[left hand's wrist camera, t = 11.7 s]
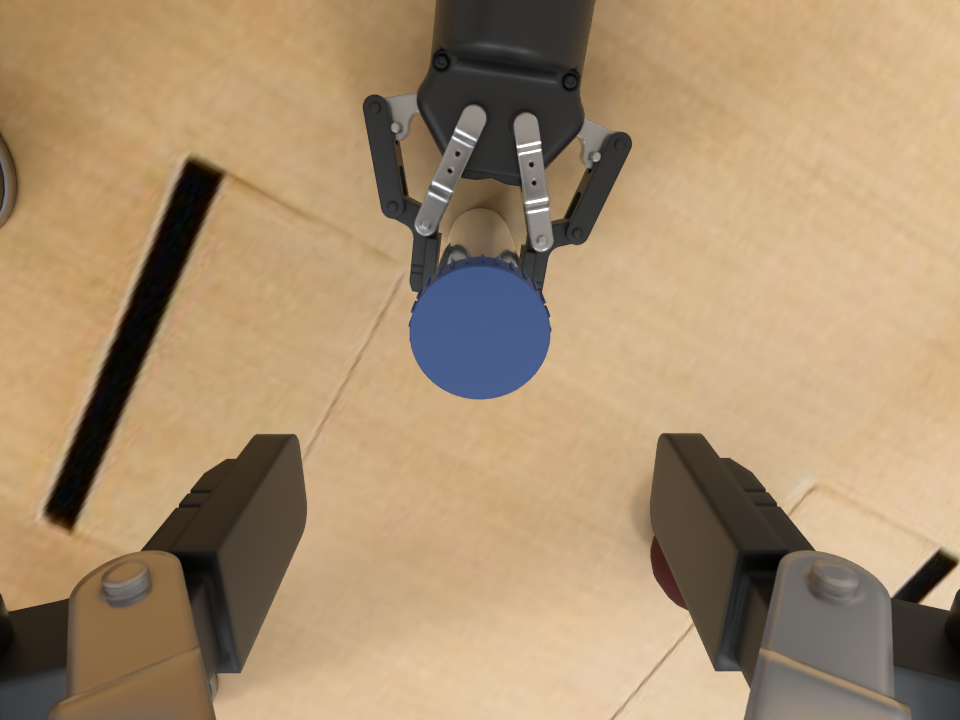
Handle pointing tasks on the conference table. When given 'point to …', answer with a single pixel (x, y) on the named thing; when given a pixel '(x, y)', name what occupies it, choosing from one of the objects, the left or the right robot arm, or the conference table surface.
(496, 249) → the grey cylinder
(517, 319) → the lid
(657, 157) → the conference table surface
